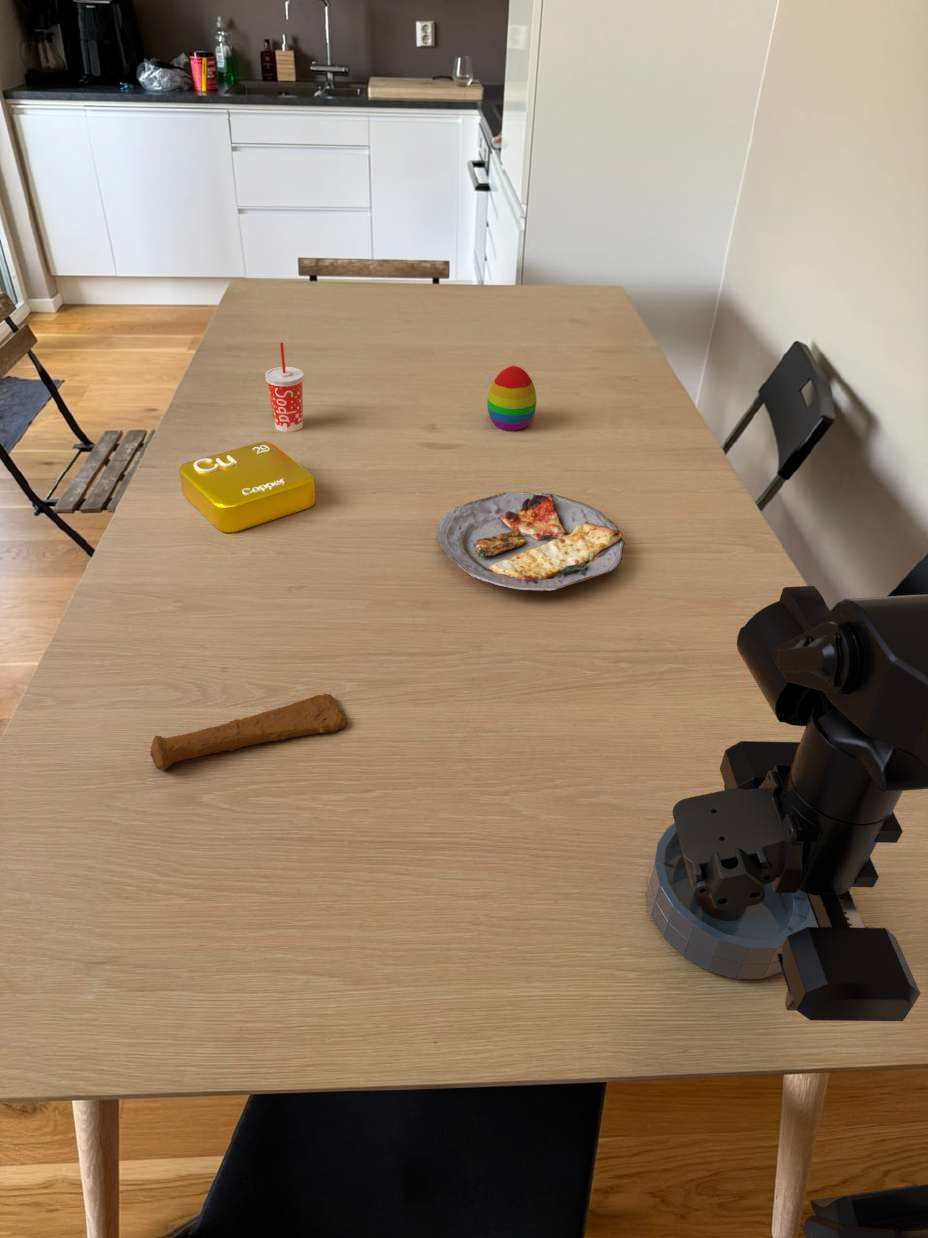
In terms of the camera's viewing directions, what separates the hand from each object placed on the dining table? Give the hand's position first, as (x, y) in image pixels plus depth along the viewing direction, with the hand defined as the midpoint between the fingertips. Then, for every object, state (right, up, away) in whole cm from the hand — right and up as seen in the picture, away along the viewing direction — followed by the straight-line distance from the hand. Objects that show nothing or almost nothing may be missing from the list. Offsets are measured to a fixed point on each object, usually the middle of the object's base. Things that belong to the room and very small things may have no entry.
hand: (772, 942), depth 60 cm
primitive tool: (-42, +10, +31) cm, 54 cm away
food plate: (-12, +31, +61) cm, 69 cm away
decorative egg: (-13, +55, +92) cm, 108 cm away
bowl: (+2, -3, +17) cm, 17 cm away
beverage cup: (-50, +54, +88) cm, 114 cm away
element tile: (-52, +39, +69) cm, 95 cm away
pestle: (+1, -2, +17) cm, 17 cm away
